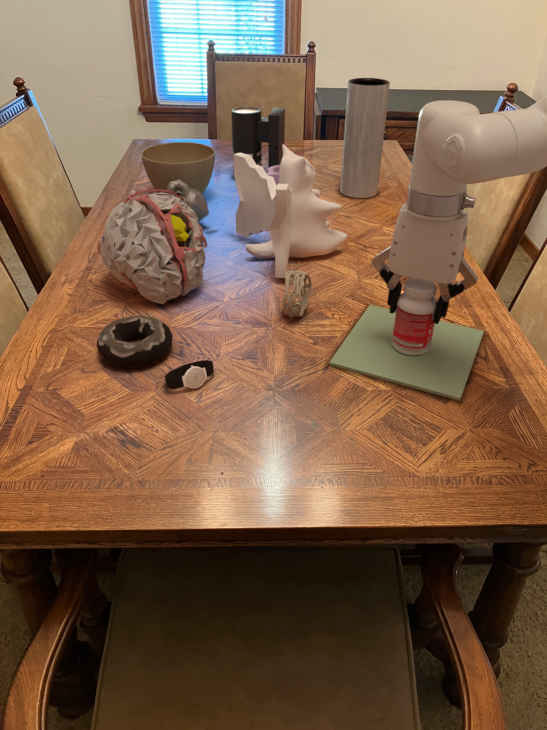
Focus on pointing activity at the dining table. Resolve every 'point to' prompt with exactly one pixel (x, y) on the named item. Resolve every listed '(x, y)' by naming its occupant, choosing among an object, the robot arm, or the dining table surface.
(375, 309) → the mat
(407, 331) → the pill bottle
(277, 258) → the white spiky figurine
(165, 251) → the decorative sculpture
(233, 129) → the light fixture
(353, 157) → the planter
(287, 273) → the bracelet
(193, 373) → the watch
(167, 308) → the dining table surface
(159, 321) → the donut
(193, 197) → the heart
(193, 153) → the flower pot
